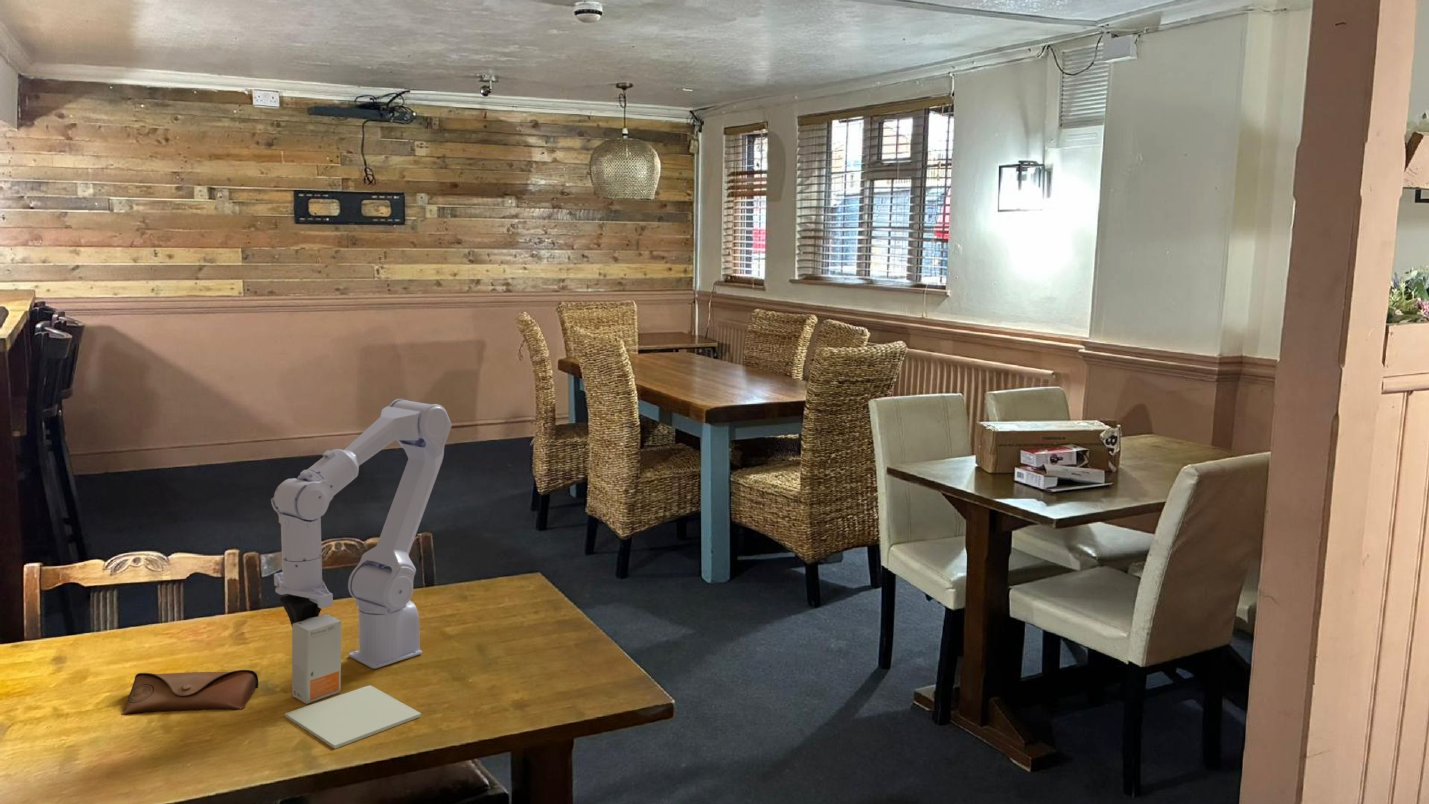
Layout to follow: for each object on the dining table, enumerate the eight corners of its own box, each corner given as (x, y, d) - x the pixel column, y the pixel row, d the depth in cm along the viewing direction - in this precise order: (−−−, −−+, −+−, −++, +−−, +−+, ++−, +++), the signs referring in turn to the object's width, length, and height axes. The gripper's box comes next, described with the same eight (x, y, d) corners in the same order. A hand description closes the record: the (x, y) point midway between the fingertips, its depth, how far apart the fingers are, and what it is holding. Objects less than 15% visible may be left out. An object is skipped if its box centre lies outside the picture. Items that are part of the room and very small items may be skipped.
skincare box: (307, 705, 159) (306, 631, 157) (291, 696, 162) (290, 623, 159) (342, 692, 164) (342, 620, 162) (326, 684, 166) (326, 612, 164)
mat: (370, 688, 166) (370, 685, 166) (421, 716, 157) (421, 713, 157) (285, 716, 155) (285, 713, 155) (334, 748, 146) (334, 745, 146)
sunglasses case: (115, 716, 153) (121, 669, 156) (130, 720, 160) (136, 675, 162) (247, 709, 157) (251, 664, 159) (256, 714, 163) (260, 670, 166)
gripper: (254, 551, 163) (257, 634, 165) (300, 572, 154) (303, 660, 156) (297, 542, 169) (299, 622, 171) (344, 562, 159) (346, 647, 161)
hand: (304, 640), depth 164 cm, fingers closed
